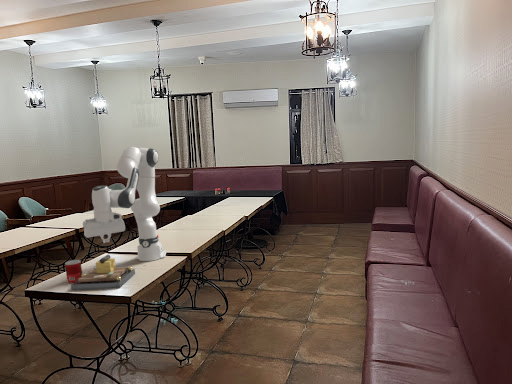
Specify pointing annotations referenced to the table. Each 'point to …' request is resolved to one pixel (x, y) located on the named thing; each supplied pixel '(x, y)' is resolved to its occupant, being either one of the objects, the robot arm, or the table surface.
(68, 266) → the canned food
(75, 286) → the grey tray
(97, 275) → the level plate
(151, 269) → the table surface
